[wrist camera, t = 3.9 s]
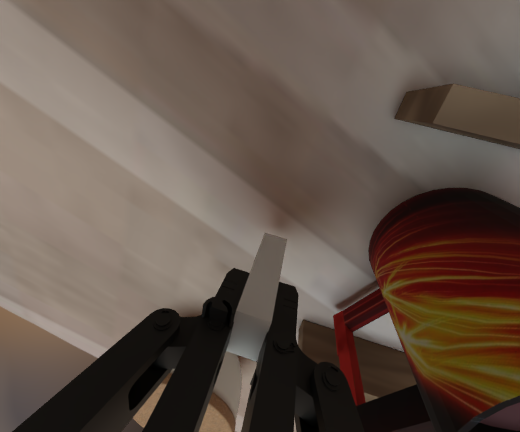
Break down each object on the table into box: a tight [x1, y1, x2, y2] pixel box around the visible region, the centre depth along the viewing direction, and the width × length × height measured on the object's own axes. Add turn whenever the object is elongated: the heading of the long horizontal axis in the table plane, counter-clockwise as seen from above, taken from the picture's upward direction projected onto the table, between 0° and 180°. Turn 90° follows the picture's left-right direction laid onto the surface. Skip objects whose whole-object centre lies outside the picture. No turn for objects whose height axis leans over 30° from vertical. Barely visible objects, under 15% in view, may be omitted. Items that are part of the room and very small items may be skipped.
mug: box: [333, 188, 520, 432], centre depth 13 cm, size 10×14×12 cm
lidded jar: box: [133, 351, 242, 432], centre depth 23 cm, size 11×11×9 cm
